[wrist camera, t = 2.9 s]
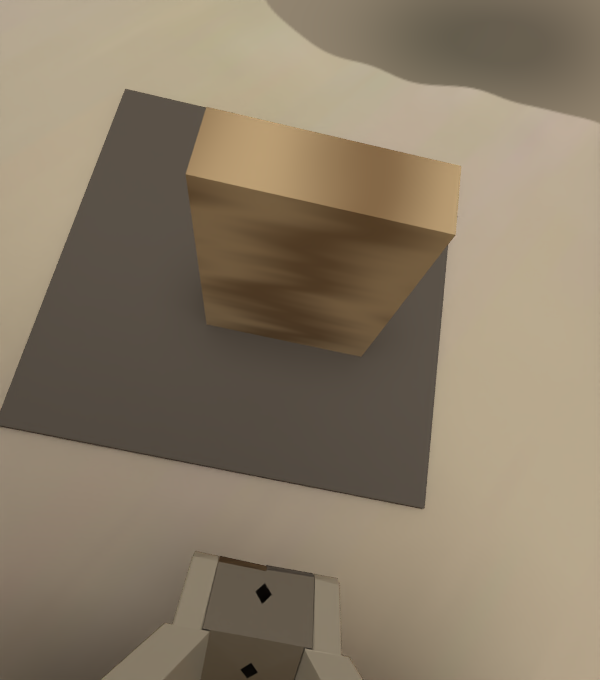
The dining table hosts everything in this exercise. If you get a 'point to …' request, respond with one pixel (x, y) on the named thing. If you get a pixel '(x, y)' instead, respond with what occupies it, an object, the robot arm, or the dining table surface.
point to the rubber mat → (211, 345)
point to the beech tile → (312, 230)
